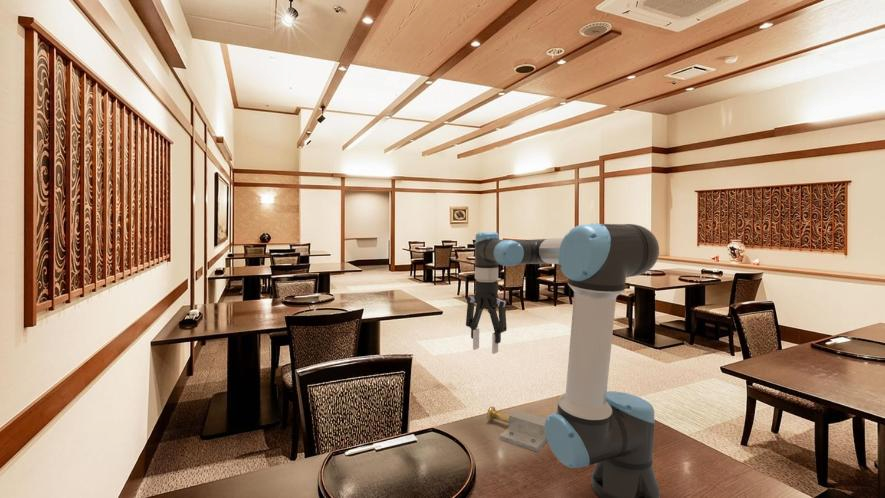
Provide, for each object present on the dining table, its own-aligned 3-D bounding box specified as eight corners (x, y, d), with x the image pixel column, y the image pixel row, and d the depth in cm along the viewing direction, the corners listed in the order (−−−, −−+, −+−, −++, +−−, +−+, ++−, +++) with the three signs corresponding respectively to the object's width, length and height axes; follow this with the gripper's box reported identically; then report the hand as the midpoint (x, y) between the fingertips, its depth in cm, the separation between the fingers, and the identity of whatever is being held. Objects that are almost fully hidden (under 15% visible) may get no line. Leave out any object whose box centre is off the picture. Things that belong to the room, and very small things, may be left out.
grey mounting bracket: (558, 428, 134) (559, 412, 133) (537, 452, 120) (537, 435, 119) (523, 417, 140) (523, 403, 140) (499, 439, 127) (499, 422, 126)
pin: (529, 428, 132) (530, 415, 132) (523, 434, 129) (524, 420, 129) (493, 417, 140) (493, 404, 140) (486, 422, 136) (486, 409, 136)
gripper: (519, 281, 134) (517, 353, 135) (467, 276, 145) (466, 342, 147) (508, 284, 128) (507, 359, 129) (454, 278, 139) (454, 348, 140)
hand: (485, 350), depth 138 cm, fingers open, 6 cm apart
